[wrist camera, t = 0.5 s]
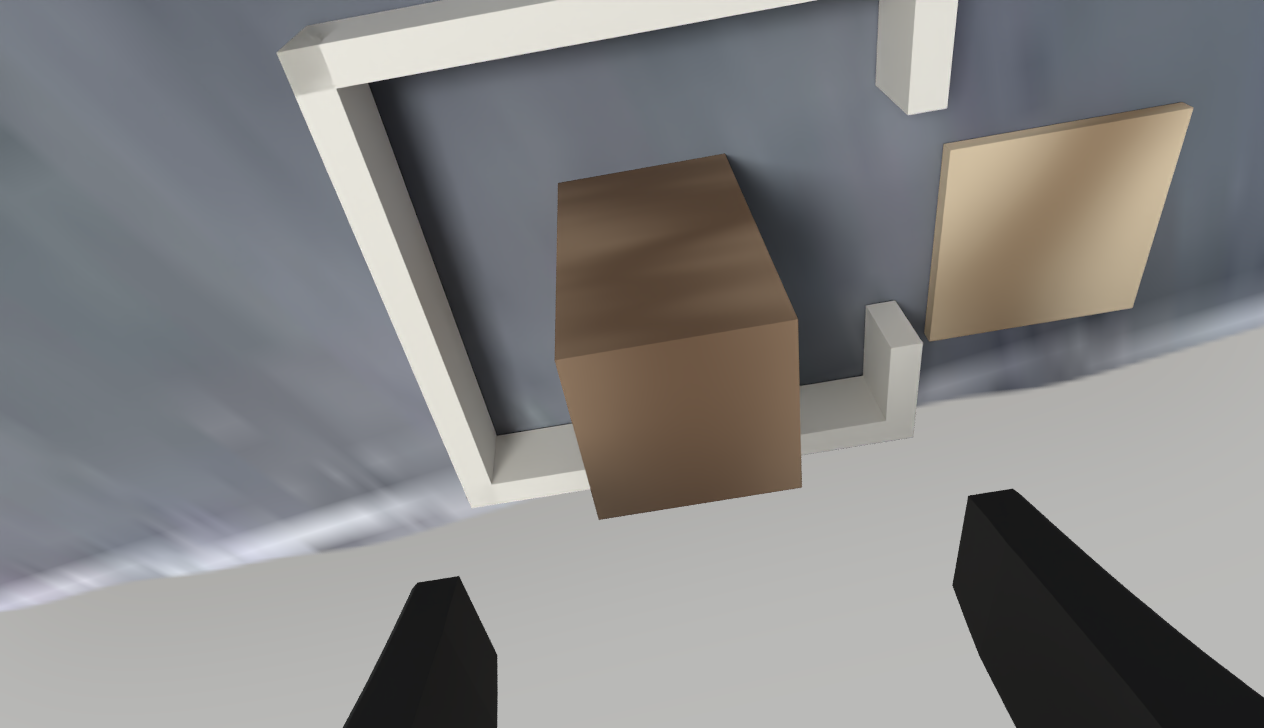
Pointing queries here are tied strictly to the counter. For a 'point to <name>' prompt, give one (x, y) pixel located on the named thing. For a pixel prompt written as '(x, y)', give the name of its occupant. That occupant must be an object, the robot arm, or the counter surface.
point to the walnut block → (674, 340)
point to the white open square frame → (402, 264)
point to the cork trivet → (1049, 220)
